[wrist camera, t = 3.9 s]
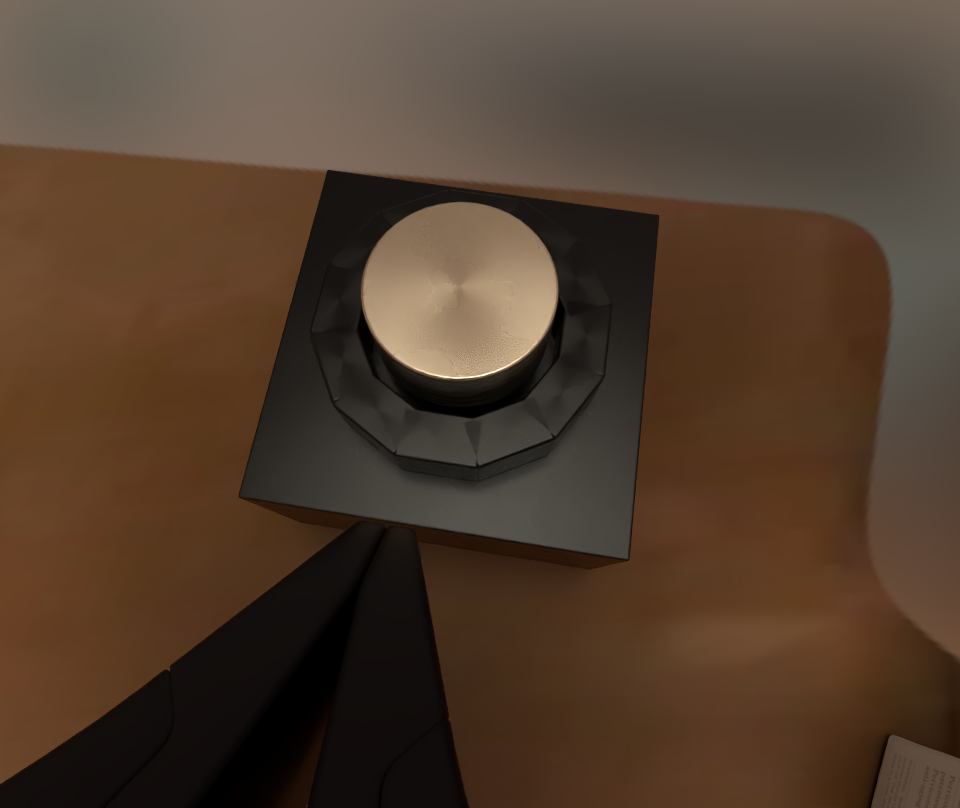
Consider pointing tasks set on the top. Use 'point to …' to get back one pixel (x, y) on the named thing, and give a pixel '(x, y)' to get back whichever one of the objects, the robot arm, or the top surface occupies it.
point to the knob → (460, 302)
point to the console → (463, 430)
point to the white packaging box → (916, 777)
